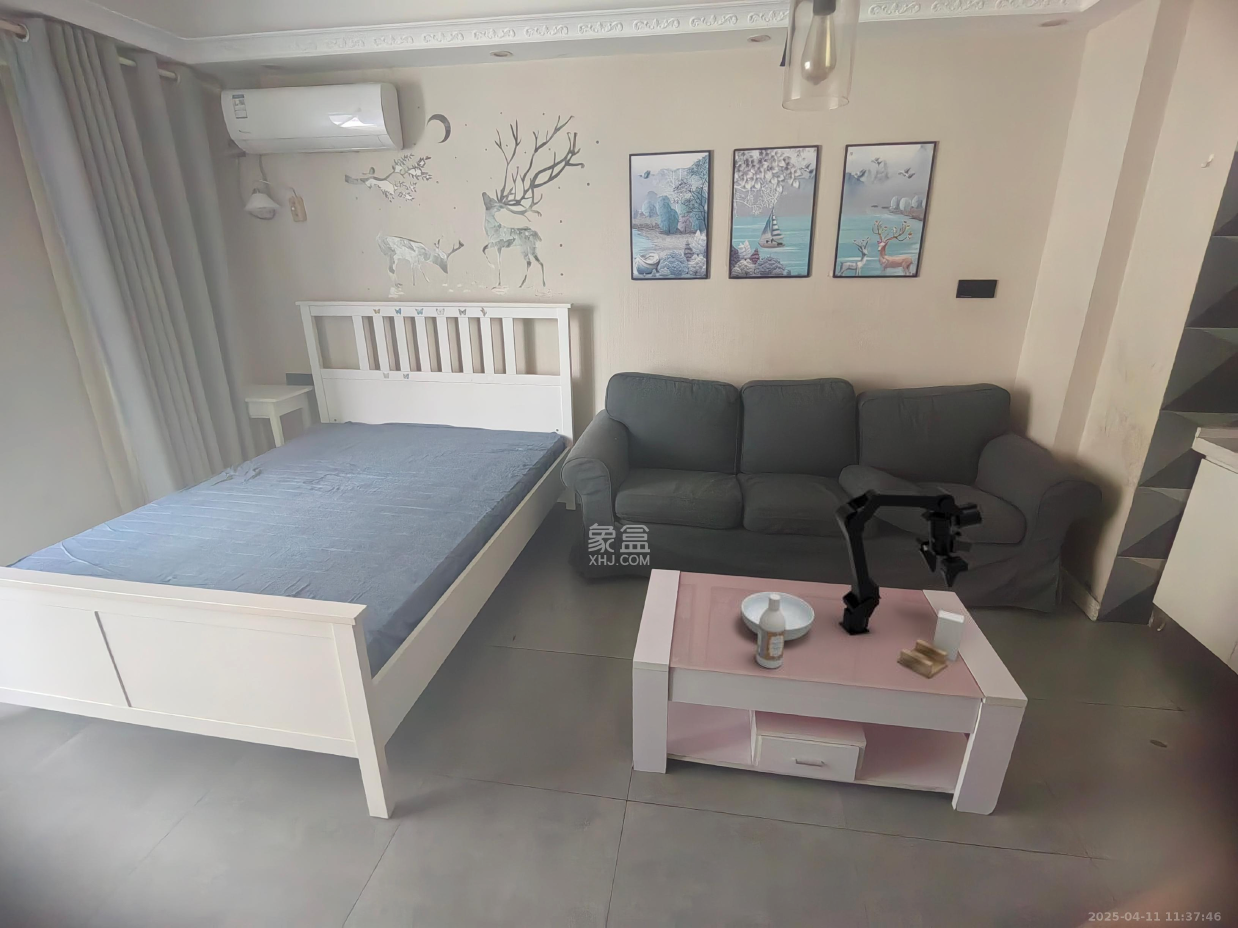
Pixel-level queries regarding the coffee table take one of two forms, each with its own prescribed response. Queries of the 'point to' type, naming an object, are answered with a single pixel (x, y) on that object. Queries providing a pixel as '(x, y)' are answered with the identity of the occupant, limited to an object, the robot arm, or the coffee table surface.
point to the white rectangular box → (948, 633)
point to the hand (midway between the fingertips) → (941, 579)
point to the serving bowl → (791, 607)
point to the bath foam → (771, 635)
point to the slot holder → (924, 659)
